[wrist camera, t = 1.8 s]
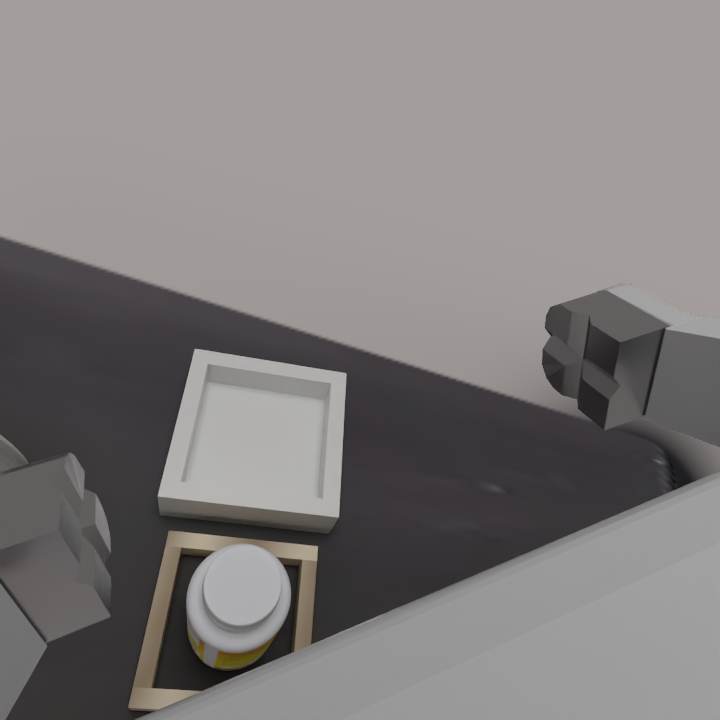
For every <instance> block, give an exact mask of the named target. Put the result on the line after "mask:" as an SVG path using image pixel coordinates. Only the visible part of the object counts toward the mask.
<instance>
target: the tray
mask: <svg viewBox="0 0 720 720" xmlns="http://www.w3.org/2000/svg"><path fill="white" fill-rule="evenodd" d="M345 391H346V373H341V372H335V371H329V370H323V369H316V368H310V367H304V366H298V365H292V364H286V363H280V362H273V361H267V360H261V359H255V358H249V357H243V356H237V355H230V354H224V353H218V352H212V351H206V350H200V349H195V351H194V354H193V358H192V362H191V366H190V370H189V374H188V378H187V382H186V386H185V390H184V394H183V398H182V402H181V406H180V410H179V414H178V418H177V422H176V426H175V430H174V434H173V438H172V441H171V445H170V449H169V453H168V457H167V461H166V465H165V469H164V473H163V477H162V481H161V485H160V489H159V493H158V504H159V512H160V515H162V516H171V517H180V518H189V519H198V520H207V521H216V522H225V523H234V524H243V525H252V526H261V527H271V528H280V529H289V530H298V531H307V532H316V533H325V534H329V533H330V531H331V530H332V528H333V526H334V525H335V523H336V521H337V520H338V518H339V506H340V486H341V467H342V448H343V429H344V410H345Z"/></svg>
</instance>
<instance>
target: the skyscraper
mask: <svg viewBox="0 0 720 720" xmlns="http://www.w3.org/2000/svg"><path fill="white" fill-rule="evenodd" d="M26 464H28V461H27V459H26V458H25V457H24V456H23V455H22V454H21V453H20V451H19V450H18V449H17V448H16V447H14V446H13V445H12V444H11V443H10V442H9V441H8V440H6V439H5V438H4V437H3V436H1V435H0V472H1V471H5V470H8V469H12V468H15V467H19V466H23V465H26Z"/></svg>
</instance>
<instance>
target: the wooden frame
mask: <svg viewBox="0 0 720 720" xmlns="http://www.w3.org/2000/svg"><path fill="white" fill-rule="evenodd" d="M233 544H252V545H256V546H259V547H262V548H264V549H266V550H267V551H269V552H270V553H272V554H273V555H274V556H275V557H276V558H277V559H278V560H279V561H280V562H281V564H282V565H292V566H299V569H298V580H297V591H296V602H295V613H294V624H293V635H292V646H291V653H293V652H295V651H298V650H300V649H302V648H305V647H307V646H309V645H311V635H312V621H313V607H314V594H315V580H316V566H317V552H318V546H309V545H300V544H291V543H281V542H272V541H262V540H253V539H244V538H234V537H225V536H215V535H206V534H196V533H187V532H178V531H169V533H168V538H167V542H166V546H165V550H164V555H163V559H162V563H161V568H160V572H159V576H158V581H157V585H156V589H155V594H154V598H153V602H152V607H151V611H150V615H149V620H148V624H147V628H146V633H145V637H144V641H143V646H142V650H141V654H140V658H139V663H138V667H137V671H136V676H135V680H134V684H133V689H132V693H131V697H130V702H129V706H128V708H129V709H130V710H140V711H156V710H159V709H161V708H164V707H166V706H168V705H171V704H173V703H175V702H178V701H180V700H182V699H185V698H187V697H189V696H192V695H194V694H196V693H199V692H201V691H190V690H173V689H156V688H153V687H154V682H155V677H156V673H157V668H158V663H159V659H160V654H161V649H162V645H163V640H164V635H165V630H166V626H167V621H168V616H169V612H170V607H171V602H172V598H173V593H174V588H175V583H176V579H177V574H178V569H179V565H180V560H181V555H191V556H202V557H208V556H209V555H211V554H212V553H213V552H215V551H217V550H219V549H221V548H223V547H226V546H229V545H233Z"/></svg>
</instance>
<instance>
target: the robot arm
mask: <svg viewBox="0 0 720 720" xmlns="http://www.w3.org/2000/svg"><path fill="white" fill-rule="evenodd" d="M545 329H546V330H547V331H548V333H549V334H550V335H551V337H550V338H549V340H548V341H547V343H546V345H545V346H544V348H543V359H542V365H543V368H544V372H545V375H546V378H547V379H548V381H549V382H550V384H551V385H552V387H553V388H554V389H556V390H557V391H558V392H559V393H560V394H561V395H564V396H567V397H571V398H575V399H577V401H578V409H579V410H581V411H582V412H583V413H584V414H585V415H586V416H588V417H589V418H590V419H591V420H592V421H594V422H595V423H596V424H597V425H598V426H600V427H601V428H602V429H603V430H606V429H609V428H612V427H615V426H618V425H621V424H624V423H626V422H630V421H633V420H636V419H638V418H641V417H644V416H645V419H647V420H650V421H652V422H655V423H658V424H660V425H663V426H665V427H668V428H671V429H673V430H676V431H679V432H681V433H684V434H686V435H689V436H692V437H694V438H697V439H700V440H702V441H705V442H708V443H710V444H713V445H716V446H718V447H720V318H715V317H709V316H701V317H698V318H696V317H694V316H692V315H690V314H688V313H686V312H684V311H682V310H680V309H678V308H676V307H674V306H672V305H670V304H668V303H666V302H664V301H663V300H661V299H658V298H657V297H655V296H653V295H651V294H649V293H647V292H645V291H643V290H641V289H639V288H637V287H635V286H633V285H631V284H622V283H621V284H617V285H615V286H612V287H609V288H606V289H603V290H600V291H598V292H596V293H593V294H590V295H587V296H584V297H580V298H577V299H574V300H571V301H568V302H565V303H561V304H558V305H555V306H552V307H550V309H549V311H548V313H547V315H546V322H545ZM84 473H85V472H84V471H83V469H82V467H81V465H80V464H79V462H78V460H77V458H76V457H75V456H74V455H73V454H71V453H70V452H68V453H65V454H61V455H58V456H54V457H51V458H47V459H44V460H40V461H37V462H33V463H30V464H26V465H23V466H19V467H15V468H12V469H8V470H5V471H1V472H0V720H5V719H6V718H7V716H8V714H9V712H10V711H11V709H12V707H13V705H14V704H15V702H16V700H17V698H18V697H19V695H20V693H21V691H22V690H23V688H24V686H25V684H26V683H27V681H28V679H29V677H30V676H31V674H32V672H33V670H34V669H35V667H36V665H37V663H38V662H39V660H40V658H41V656H42V654H43V653H44V651H45V649H46V647H47V645H46V643H47V642H50V641H52V640H54V639H57V638H59V637H62V636H64V635H67V634H69V633H72V632H74V631H77V630H79V629H82V628H84V627H86V626H89V625H91V624H94V623H96V622H99V621H101V620H104V619H106V618H109V617H111V577H110V575H109V573H108V572H107V570H106V568H105V566H104V563H105V561H106V560H107V558H108V557H109V555H110V554H111V544H110V534H109V529H108V523H107V519H106V516H105V513H104V511H103V508H102V505H101V503H100V501H99V499H98V497H97V495H96V494H95V493H93V492H91V491H88V490H86V489H84ZM135 720H720V471H718V472H716V473H714V474H711V475H709V476H707V477H704V478H702V479H700V480H698V481H695V482H693V483H690V484H688V485H686V486H683V487H681V488H678V489H676V490H674V491H671V492H669V493H667V494H664V495H662V496H660V497H657V498H655V499H653V500H650V501H648V502H646V503H643V504H641V505H639V506H636V507H634V508H631V509H629V510H627V511H624V512H622V513H620V514H617V515H615V516H613V517H610V518H608V519H606V520H603V521H601V522H599V523H596V524H594V525H592V526H589V527H587V528H585V529H582V530H580V531H577V532H575V533H573V534H570V535H568V536H566V537H563V538H561V539H559V540H556V541H554V542H552V543H549V544H547V545H545V546H542V547H540V548H537V549H535V550H533V551H530V552H528V553H526V554H523V555H521V556H519V557H516V558H514V559H512V560H509V561H507V562H505V563H502V564H500V565H497V566H495V567H493V568H490V569H488V570H486V571H483V572H481V573H479V574H476V575H474V576H472V577H469V578H467V579H465V580H462V581H460V582H457V583H455V584H453V585H450V586H448V587H446V588H443V589H441V590H439V591H436V592H434V593H432V594H429V595H427V596H425V597H422V598H420V599H417V600H415V601H413V602H410V603H408V604H406V605H403V606H401V607H399V608H396V609H394V610H392V611H389V612H387V613H385V614H382V615H380V616H377V617H375V618H373V619H370V620H368V621H366V622H363V623H361V624H359V625H356V626H354V627H352V628H349V629H347V630H345V631H342V632H340V633H338V634H335V635H333V636H330V637H328V638H326V639H323V640H321V641H319V642H316V643H314V644H312V645H309V646H307V647H305V648H302V649H300V650H298V651H295V652H293V653H290V654H288V655H286V656H283V657H281V658H279V659H276V660H274V661H272V662H269V663H267V664H265V665H262V666H260V667H258V668H255V669H253V670H251V671H248V672H246V673H243V674H241V675H239V676H236V677H234V678H232V679H229V680H227V681H225V682H222V683H220V684H218V685H215V686H213V687H211V688H208V689H206V690H204V691H201V692H199V693H196V694H194V695H192V696H189V697H187V698H185V699H182V700H180V701H178V702H175V703H173V704H171V705H168V706H166V707H164V708H161V709H159V710H156V711H154V712H152V713H149V714H147V715H145V716H142V717H140V718H138V719H135Z"/></svg>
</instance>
